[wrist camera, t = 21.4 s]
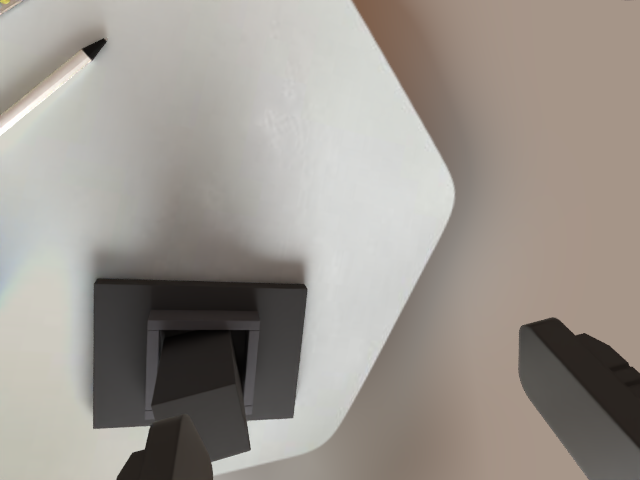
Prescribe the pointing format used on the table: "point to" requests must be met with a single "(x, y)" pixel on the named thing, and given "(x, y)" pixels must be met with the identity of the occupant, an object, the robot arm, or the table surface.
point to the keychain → (8, 5)
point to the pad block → (203, 389)
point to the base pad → (186, 316)
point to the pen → (49, 85)
